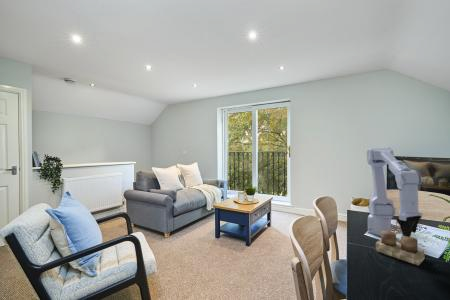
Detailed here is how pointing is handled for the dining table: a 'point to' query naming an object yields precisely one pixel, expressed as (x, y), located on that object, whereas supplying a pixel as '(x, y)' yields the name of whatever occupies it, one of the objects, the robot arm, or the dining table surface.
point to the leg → (409, 244)
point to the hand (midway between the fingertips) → (409, 234)
